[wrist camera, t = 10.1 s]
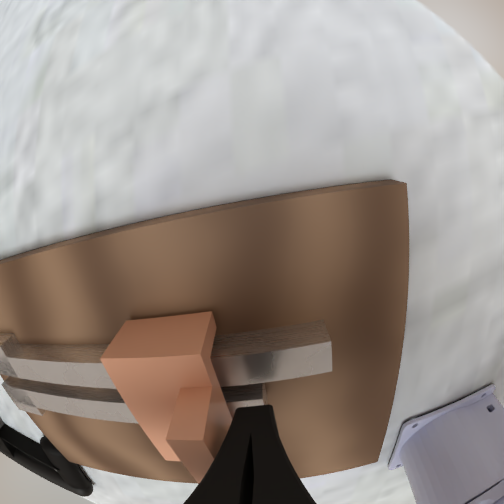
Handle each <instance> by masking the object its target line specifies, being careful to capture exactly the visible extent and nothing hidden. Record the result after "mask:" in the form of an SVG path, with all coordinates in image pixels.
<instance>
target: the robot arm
mask: <svg viewBox="0 0 504 504" xmlns="http://www.w3.org/2000/svg"><path fill="white" fill-rule="evenodd" d="M494 390H495V385H494V384H491V385H489V386H487V387H486V388H484V389H482V390H480V391H478V392H476V393H474V394H472V395H470V396H468V397H466V398H464V399H461V400H459V401H457V402H455V403H453V404H450V405H448V406H446V407H443V408H441V409H439V410H436V411H434V412H431V413H429V414H426V415H423V416H421V417H418V418H415V419H413V420H410V421H407V422H406V423H404V424H403V426H402V428H401V431H400V434H399V437H398V440H397V443H396V446H395V449H394V452H393V455H392V457H391V460H390V462H389V465H388V468H389V470H393V469H396V468H399V467H402V466H404V469H405V472H406V475H407V477H408V480H409V483H410V486H411V489H412V492H413V494H414V497H415V500H416V503H417V504H504V407H503V406H502V405H501V403H500V402H499V401H498V399H497V398H496V397H495V395H494V394H493V392H494ZM184 504H316V503H315V501H314V500H313V498H312V497H311V495H310V494H309V493H308V491H307V490H306V488H305V486H304V485H303V483H302V482H301V480H300V478H299V477H298V475H297V473H296V471H295V470H294V468H293V466H292V464H291V462H290V460H289V458H288V456H287V454H286V451H285V449H284V447H283V444H282V442H281V439H280V437H279V432H278V428H277V423H276V419H275V414H274V410H273V406H272V405H270V404H267V405H259V406H249V407H238V408H237V409H236V410H235V413H234V417H233V419H232V422H231V425H230V427H229V430H228V432H227V434H226V437H225V439H224V441H223V443H222V445H221V447H220V449H219V451H218V453H217V455H216V457H215V459H214V461H213V462H212V464H211V466H210V468H209V469H208V471H207V473H206V474H205V476H204V477H203V479H202V480H201V482H200V483H199V485H198V486H197V487H196V489H195V490H194V491H193V493H192V494H191V495H190V496H189V498H188V499H187V500H186V501H185V502H184Z"/></svg>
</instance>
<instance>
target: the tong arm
mask: <svg viewBox="0 0 504 504" xmlns="http://www.w3.org/2000/svg"><path fill="white" fill-rule="evenodd" d="M2 386H3V387H4V389H5V390H6V392H7V393H8V395H9V396H10V397H11V399H12V400H13V402H14V403H15V404H16V406H17V407H18V408H19V409H20V410H23V411H26V412H30V413H33V414H37V415H41V416H43V415H44V413H45V412H46V410H49V411H53V412H58V413H63V414H68V415H74V416H79V417H85V418H92V419H99V420H107V421H116V422H126V423H138V422H137V420H136V419H135V417H134V416H133V414H132V413H131V411H130V410H129V408H128V407H127V405H126V403H125V402H124V400H123V399H122V397H121V395H120V394H119V392H118V390H117V389H110V388H94V387H82V386H71V385H62V384H54V383H47V382H40V381H34V380H28V379H22V378H16V377H11V376H8V378H7V379H6V380H5V381H4V382H3V383H2ZM221 390H222V393H223V396H224V398H225V401H226V404H227V406H228V409H229V412H230V414H231V417H232V419H233V417H234V413H235V410H236V409H237V408H238V407H249V406H259V405H267V404H268V400H267V393H266V389H265V384H264V383H257V384H248V385H238V386H227V387H221ZM138 424H139V423H138Z"/></svg>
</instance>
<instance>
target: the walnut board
mask: <svg viewBox="0 0 504 504" xmlns="http://www.w3.org/2000/svg"><path fill="white" fill-rule="evenodd" d="M408 278H409V216H408V197H407V184H406V183H404V182H399V181H395V180H382V181H373V182H365V183H357V184H349V185H341V186H334V187H327V188H320V189H313V190H306V191H300V192H293V193H287V194H281V195H274V196H268V197H263V198H257V199H251V200H245V201H240V202H234V203H229V204H224V205H218V206H213V207H208V208H203V209H198V210H193V211H188V212H184V213H179V214H174V215H169V216H165V217H160V218H156V219H151V220H147V221H142V222H138V223H134V224H130V225H125V226H121V227H117V228H113V229H109V230H105V231H101V232H97V233H93V234H89V235H85V236H81V237H78V238H74V239H70V240H66V241H63V242H59V243H56V244H52V245H49V246H45V247H42V248H38V249H35V250H31V251H28V252H25V253H21V254H18V255H15V256H12V257H8V258H5V259H2V260H0V333H14V334H15V336H16V338H17V340H18V342H19V343H20V344H48V345H84V344H110V343H111V341H112V340H113V339H114V337H115V336H116V334H117V333H118V331H119V330H120V329H121V327H122V326H123V324H124V323H125V321H127V320H137V319H148V318H158V317H167V316H176V315H184V314H193V313H201V312H209V311H212V313H213V316H214V320H215V323H216V327H217V328H216V333H215V336H218V335H226V334H234V333H242V332H249V331H257V330H263V329H270V328H277V327H283V326H289V325H295V324H301V323H307V322H312V321H318V320H324V323H325V326H326V328H327V331H328V334H329V336H330V339H331V347H332V371H331V372H326V373H321V374H316V375H310V376H305V377H299V378H293V379H286V380H279V381H272V382H265V383H264V384H265V389H266V393H267V400H268V404H270V405H272V406H273V410H274V414H275V419H276V423H277V428H278V432H279V437H280V439H281V442H282V444H283V447H284V449H285V451H286V454H287V456H288V458H289V460H290V462H291V464H292V466H293V468H294V470H295V471H296V473H297V475H298V477H299V478H306V477H312V476H318V475H323V474H329V473H334V472H338V471H343V470H347V469H352V468H356V467H360V466H364V465H367V464H371V463H375V462H378V458H379V455H380V452H381V448H382V445H383V441H384V438H385V434H386V430H387V426H388V422H389V418H390V414H391V409H392V405H393V400H394V395H395V390H396V385H397V380H398V374H399V368H400V362H401V355H402V348H403V340H404V331H405V322H406V311H407V297H408ZM0 375H1V377H2V378H3V380H4V381H5V380H6V379H7V378H8V376H6V375H2V374H0ZM26 413H27V414H28V415H29V416H30V418H31V419H32V420H33V422H34V423H35V424H36V425H37V426H38V428H39V429H40V430H41V431H42V432H43V434H44V435H45V436H46V437H47V438H48V439H49V441H50V442H51V443H52V444H53V445H54V446H55V447H56V448H57V449H58V450H59V451H60V452H61V454H62V455H63V456H64V457H65V458H66V459H67V460H68V461H69V462H73V463H76V464H79V465H83V466H87V467H91V468H95V469H99V470H103V471H108V472H112V473H117V474H122V475H128V476H134V477H140V478H147V479H154V480H162V481H172V482H185V483H197V481H196V480H195V479H194V478H193V476H192V475H191V474H190V472H189V471H188V470H187V469H186V467H185V466H184V465H183V463H182V462H181V461H167V460H165V459H164V458H163V456H162V455H161V454H160V452H159V451H158V450H157V448H156V447H155V446H154V444H153V443H152V442H151V440H150V439H149V438H148V436H147V435H146V433H145V432H144V431H143V429H142V428H141V426H140V425H139V424H138V423H126V422H116V421H107V420H99V419H92V418H85V417H79V416H74V415H68V414H63V413H58V412H53V411H49V410H46V412H45V413H44V415H43V416H41V415H37V414H33V413H30V412H26Z"/></svg>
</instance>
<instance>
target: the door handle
mask: <svg viewBox="0 0 504 504" xmlns="http://www.w3.org/2000/svg"><path fill="white" fill-rule="evenodd" d="M0 452H2V453H3V454H5V455H6V456H8V457H9V458H11V459H12V460H14V461H15V462H17V463H18V464H20V465H22V466H23V467H25V468H27V469H29V470H30V471H32V472H34V473H35V474H37V475H39V476H41V477H43V478H45V479H47V480H48V481H50V482H52V483H54V484H56V485H58V486H60V487H62V488H64V489H66V490H69V491H71V492H73V493H75V494H78V495H80V496H89V495H91V493H92V492H93V485H92V483H91V482H90V481H89V480H88V479H87V478H86V477H85V476H84V474H83V473H82V471H81V469H80V468H79V466H78V464H76V463H73V462H69V461H68V460H67V459H66V458H65V457H64V456H63V455H62V454H61V452H60V451H59V450H58V449H57V448H56V447H55V446H54V445H53V444H52V443H51V442H50V441H49V439H48V438H47V437H46V436H44V437H42V438H41V440H40V444H39V443H37V442H35V441H33V440H31V439H29V438H27V437H26V436H24V435H22V434H20V433H19V432H17V431H15V430H14V429H12V428H10V427H9V426H7V425H6V424H4V422H3V421H2V419H1V418H0Z"/></svg>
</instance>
